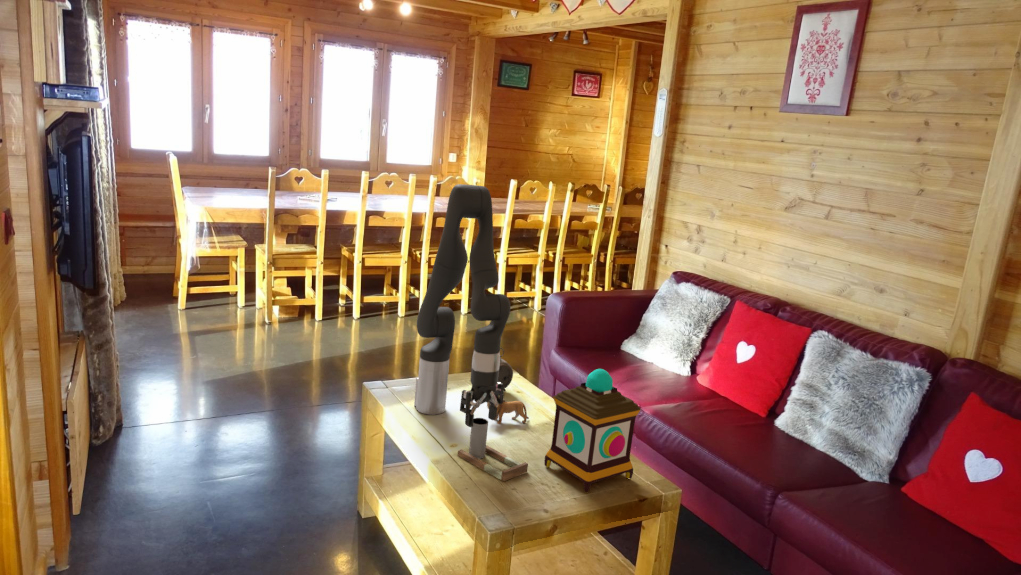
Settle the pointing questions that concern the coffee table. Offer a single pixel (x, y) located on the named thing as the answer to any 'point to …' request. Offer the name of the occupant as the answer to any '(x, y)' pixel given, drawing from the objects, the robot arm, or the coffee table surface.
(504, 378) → the alarm clock
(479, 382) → the robot arm
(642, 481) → the coffee table surface
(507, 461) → the guide channel
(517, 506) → the coffee table surface
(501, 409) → the lion figurine
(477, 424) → the grey hollow cylinder
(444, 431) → the coffee table surface
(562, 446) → the decorative lantern
